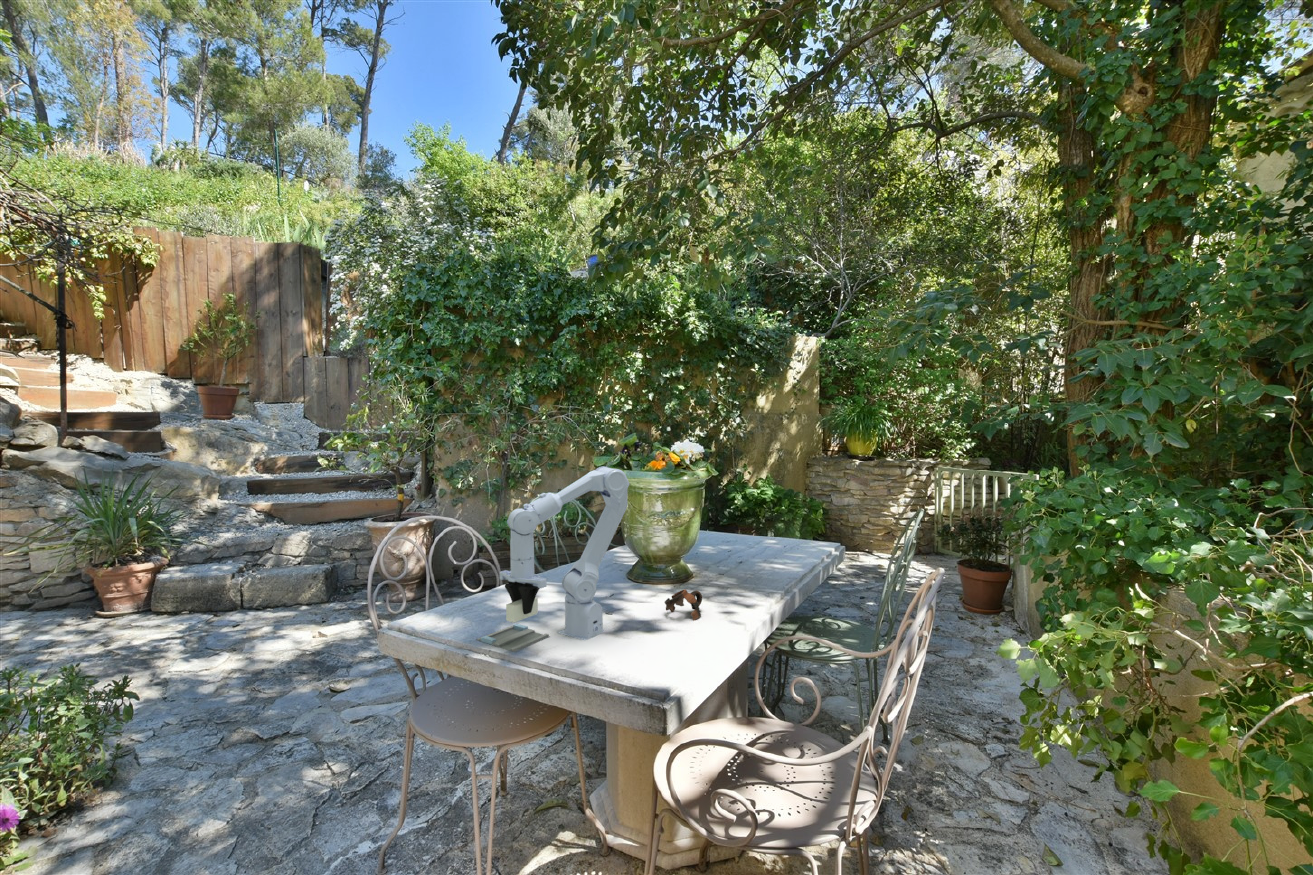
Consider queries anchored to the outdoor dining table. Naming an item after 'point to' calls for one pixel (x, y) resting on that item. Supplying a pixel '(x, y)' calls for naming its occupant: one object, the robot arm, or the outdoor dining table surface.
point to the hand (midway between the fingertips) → (522, 611)
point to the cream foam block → (519, 611)
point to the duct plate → (513, 638)
